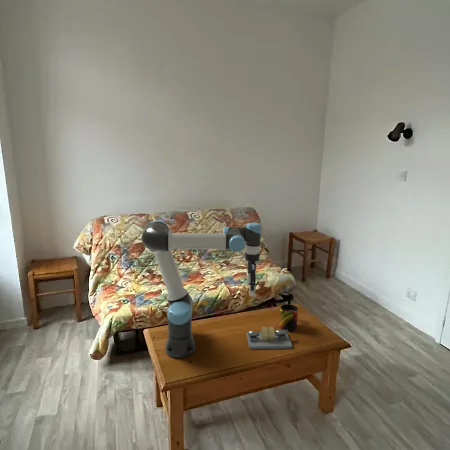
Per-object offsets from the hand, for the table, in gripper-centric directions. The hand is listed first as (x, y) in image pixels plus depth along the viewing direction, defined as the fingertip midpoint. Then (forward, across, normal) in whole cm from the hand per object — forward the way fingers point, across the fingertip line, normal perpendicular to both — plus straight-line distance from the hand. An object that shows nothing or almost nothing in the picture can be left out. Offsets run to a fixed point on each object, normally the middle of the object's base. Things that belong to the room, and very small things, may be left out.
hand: (250, 290), depth 183 cm
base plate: (+25, -8, -10) cm, 28 cm away
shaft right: (+23, -7, -17) cm, 30 cm away
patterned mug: (+25, +8, -23) cm, 35 cm away
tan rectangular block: (+24, -8, -9) cm, 27 cm away
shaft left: (+24, -9, -2) cm, 25 cm away
